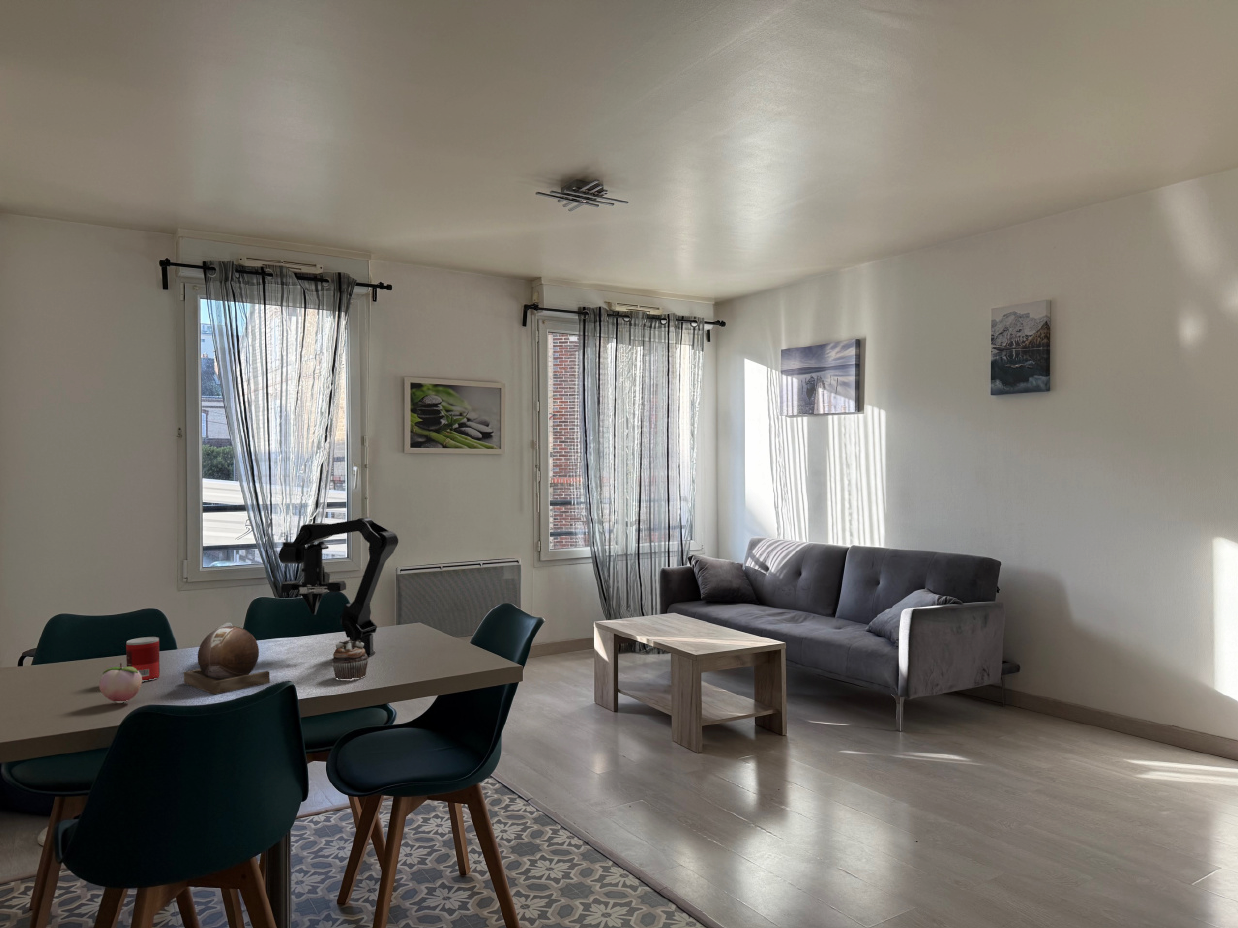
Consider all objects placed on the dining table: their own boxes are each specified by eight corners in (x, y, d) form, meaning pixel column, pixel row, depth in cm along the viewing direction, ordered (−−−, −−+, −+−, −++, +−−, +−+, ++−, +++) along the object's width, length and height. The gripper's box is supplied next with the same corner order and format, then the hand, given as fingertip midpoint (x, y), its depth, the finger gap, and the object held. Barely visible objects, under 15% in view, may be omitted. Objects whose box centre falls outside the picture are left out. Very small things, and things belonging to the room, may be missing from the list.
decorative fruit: (150, 698, 217) (149, 658, 217) (132, 707, 208) (131, 665, 208) (112, 699, 216) (111, 659, 216) (93, 708, 208) (92, 667, 208)
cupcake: (324, 680, 231) (323, 643, 231) (348, 672, 240) (347, 636, 240) (353, 683, 227) (352, 645, 227) (376, 674, 236) (375, 638, 236)
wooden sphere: (191, 691, 222) (189, 633, 222) (206, 677, 237) (205, 623, 237) (252, 687, 225) (251, 630, 225) (264, 673, 240) (263, 620, 240)
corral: (237, 672, 242) (237, 661, 242) (269, 682, 230) (269, 671, 230) (184, 683, 232) (183, 671, 232) (214, 694, 219) (214, 682, 219)
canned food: (166, 676, 239) (165, 637, 239) (141, 684, 232) (140, 643, 232) (145, 675, 242) (144, 636, 242) (120, 682, 234) (119, 641, 234)
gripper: (351, 560, 273) (352, 609, 273) (293, 561, 274) (294, 610, 274) (339, 564, 262) (340, 615, 262) (278, 565, 263) (279, 616, 263)
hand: (313, 614), depth 265 cm, fingers closed
